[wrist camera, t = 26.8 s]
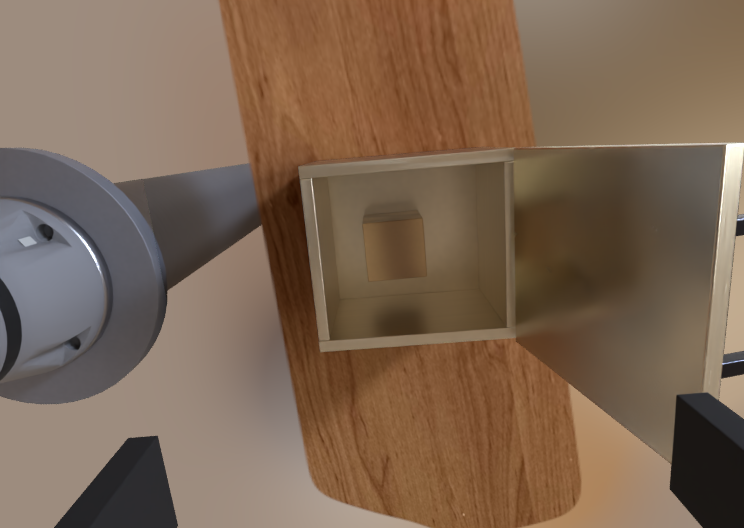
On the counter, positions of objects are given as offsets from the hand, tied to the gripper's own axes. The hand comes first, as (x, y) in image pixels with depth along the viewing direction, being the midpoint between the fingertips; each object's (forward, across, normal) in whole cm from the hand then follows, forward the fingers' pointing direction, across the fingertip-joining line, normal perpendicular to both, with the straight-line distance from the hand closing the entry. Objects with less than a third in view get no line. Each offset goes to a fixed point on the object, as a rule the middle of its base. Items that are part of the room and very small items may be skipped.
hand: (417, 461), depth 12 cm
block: (+29, +1, 0) cm, 29 cm away
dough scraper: (+12, +9, +1) cm, 15 cm away
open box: (+30, +2, +1) cm, 30 cm away
